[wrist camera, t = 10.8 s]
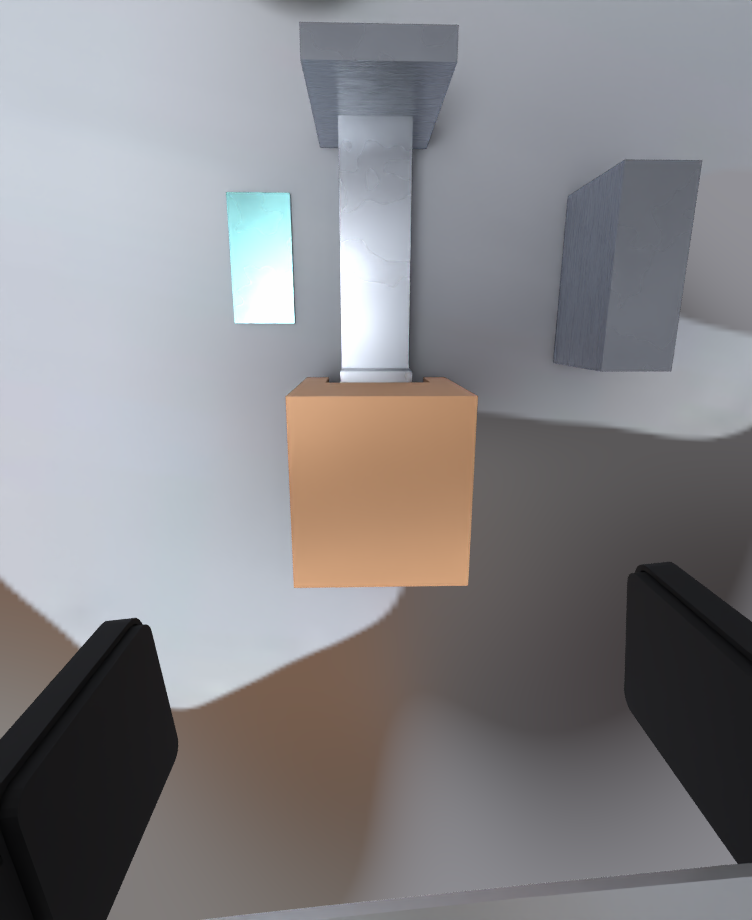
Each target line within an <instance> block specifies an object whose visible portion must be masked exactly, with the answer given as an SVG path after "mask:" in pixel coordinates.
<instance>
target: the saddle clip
mask: <svg viewBox="0 0 752 920" xmlns="http://www.w3.org/2000/svg"><path fill="white" fill-rule="evenodd" d="M477 403H478V396H477V395H475V394H473V393H472V392H470V391H468V390H466V389H465V388H463V387H461V386H459V385H458V384H456V383H454V382H452V381H451V380H449V379H447V378H445V377H423V382H394V383H329V377H307V378H306V379H305V380H304V381H303V382H301V383H300V384H299V385H298V386H297V387H296V388H295V389H294V390H292V391H291V392H290V393H289V394H288V395H287V396H286V417H287V440H288V463H289V486H290V508H291V531H292V554H293V577H294V588H320V587H398V586H468V575H469V555H470V537H471V518H472V497H473V479H474V459H475V439H476V422H477Z"/></svg>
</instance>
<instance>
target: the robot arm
mask: <svg viewBox="0 0 752 920" xmlns="http://www.w3.org/2000/svg"><path fill="white" fill-rule="evenodd" d="M625 649H626V650H625V684H624V691H625V698H626V701H627V704H628V707H629V709H630V711H631V712H632V714H633V715H634V717H635V718H636V719H637V721H638V722H639V724H640V725H641V726H642V728H643V730H644V731H645V732H646V734H647V735H648V737H649V738H650V740H651V741H652V742H653V744H654V745H655V747H656V748H657V750H658V751H659V752H660V754H661V755H662V756H663V758H664V759H665V761H666V762H667V763H668V765H669V766H670V768H671V769H672V771H673V772H674V774H675V775H676V777H677V778H678V779H679V781H680V782H681V784H682V785H683V787H684V788H685V789H686V791H687V792H688V794H689V795H690V797H691V798H692V799H693V801H694V802H695V804H696V805H697V806H698V808H699V809H700V811H701V812H702V814H703V815H704V816H705V818H706V819H707V821H708V822H709V824H710V825H711V826H712V828H713V829H714V831H715V832H716V833H717V835H718V836H719V838H720V839H721V841H722V842H723V844H724V845H725V846H726V848H727V849H728V851H729V852H730V853H731V855H732V856H733V858H734V859H735V861H736V862H737V863H738V864H733V865H721V866H711V867H700V868H690V869H680V870H670V871H660V872H650V873H640V874H629V875H620V876H609V877H600V878H589V879H579V880H569V881H559V882H548V883H538V884H528V885H519V886H509V887H500V888H490V889H481V890H471V891H462V892H453V893H442V894H434V895H424V896H414V897H405V898H395V899H386V900H377V901H367V902H358V903H348V904H339V905H330V906H320V907H311V908H302V909H293V910H284V911H275V912H266V913H257V914H248V915H239V916H231V917H221V918H212V919H203V920H752V622H751V621H750V620H749V619H747V618H746V617H744V616H743V615H742V614H740V613H739V612H738V611H736V610H735V609H734V608H732V607H731V606H730V605H729V604H727V603H726V602H725V601H723V600H722V599H721V598H719V597H718V596H717V595H715V594H714V593H713V592H711V591H710V590H709V589H707V588H706V587H705V586H703V585H702V584H701V583H699V582H698V581H697V580H695V579H694V578H693V577H691V576H690V575H689V574H687V573H686V572H685V571H683V570H682V569H681V568H679V567H678V566H677V565H675V564H674V563H672V562H663V563H653V564H643V565H639V566H638V567H637V569H636V571H635V573H631V574H630V575H629V577H628V582H627V613H626V648H625ZM177 751H178V738H177V733H176V729H175V725H174V721H173V717H172V713H171V708H170V704H169V700H168V696H167V692H166V688H165V684H164V680H163V676H162V672H161V668H160V664H159V659H158V655H157V651H156V647H155V643H154V639H153V635H152V631H151V628H150V627H149V626H148V625H142V623H141V621H140V620H139V619H137V618H131V619H121V620H112V621H105V622H104V623H103V624H101V626H100V627H99V628H98V629H97V630H96V631H95V632H94V633H93V635H92V636H91V637H90V638H89V639H88V640H87V641H86V643H85V644H84V645H83V646H82V647H81V648H80V649H79V651H78V652H77V653H76V654H75V655H74V656H73V657H72V659H71V660H70V661H69V662H68V663H67V664H66V666H65V667H64V668H63V669H62V670H61V671H60V672H59V673H58V674H57V676H56V677H55V678H54V679H53V680H52V681H51V682H50V684H49V685H48V686H47V687H46V688H45V689H44V690H43V691H42V693H41V694H40V695H39V696H38V697H37V698H36V699H35V701H34V702H33V703H32V704H31V705H30V706H29V707H28V709H27V710H26V711H25V712H24V713H23V714H22V716H20V718H19V719H18V720H17V721H16V722H15V723H14V725H13V726H12V727H11V728H10V729H9V730H8V731H7V732H6V734H5V735H4V736H3V737H2V738H1V739H0V920H106V919H107V917H108V915H109V912H110V910H111V907H112V905H113V903H114V900H115V898H116V896H117V894H118V891H119V889H120V887H121V884H122V882H123V880H124V878H125V875H126V873H127V871H128V868H129V866H130V864H131V861H132V859H133V857H134V854H135V852H136V850H137V847H138V845H139V843H140V841H141V838H142V836H143V834H144V831H145V829H146V827H147V824H148V822H149V820H150V817H151V815H152V813H153V810H154V808H155V806H156V803H157V801H158V799H159V797H160V794H161V792H162V790H163V787H164V785H165V783H166V780H167V778H168V776H169V773H170V771H171V769H172V766H173V764H174V762H175V759H176V756H177Z"/></svg>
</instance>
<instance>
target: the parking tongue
mask: <svg viewBox="0 0 752 920" xmlns="http://www.w3.org/2000/svg"><path fill="white" fill-rule="evenodd" d="M701 165H702V160H624V161H622V162H621V163H619V164H618V165H616V166H614V167H613V168H611V169H610V170H608V171H607V172H605V173H604V174H602V175H600V176H599V177H597V178H596V179H594V180H593V181H591V182H590V183H588V184H586V185H585V186H583V187H582V188H580V189H579V190H577V191H576V192H574V193H572V194H571V195H569V196H568V202H567V213H566V225H565V236H564V247H563V259H562V270H561V281H560V292H559V304H558V315H557V326H556V338H555V349H554V360H553V363H556V364H562V365H568V366H573V367H579V368H585V369H590V370H596V371H671V370H672V363H673V356H674V349H675V342H676V335H677V329H678V322H679V315H680V308H681V301H682V295H683V288H684V281H685V274H686V267H687V260H688V254H689V247H690V240H691V233H692V227H693V220H694V213H695V206H696V199H697V192H698V186H699V179H700V172H701Z"/></svg>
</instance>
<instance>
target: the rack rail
mask: <svg viewBox="0 0 752 920" xmlns="http://www.w3.org/2000/svg"><path fill="white" fill-rule="evenodd" d="M299 26H300V58H301V64H302V68H303V73H304V77H305V81H306V86H307V90H308V95H309V99H310V104H311V108H312V113H313V117H314V122H315V126H316V130H317V135H318V139H319V144H320V147H325V148H339V207H340V273H341V338H342V369H341V371H340V380H341V383H394V382H412V371H411V370H410V369H409V368H408V362H409V304H410V247H411V190H412V149H426V147H427V145H428V142H429V139H430V136H431V134H432V131H433V128H434V125H435V122H436V120H437V117H438V114H439V111H440V109H441V106H442V103H443V100H444V97H445V95H446V92H447V89H448V86H449V83H450V81H451V78H452V75H453V72H454V70H455V67H456V64H457V54H458V26H459V25H433V24H379V23H325V22H299ZM226 198H227V213H228V228H229V243H230V258H231V273H232V288H233V303H234V319H235V323H295V311H294V284H293V257H292V231H291V204H290V193H260V192H226Z"/></svg>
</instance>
